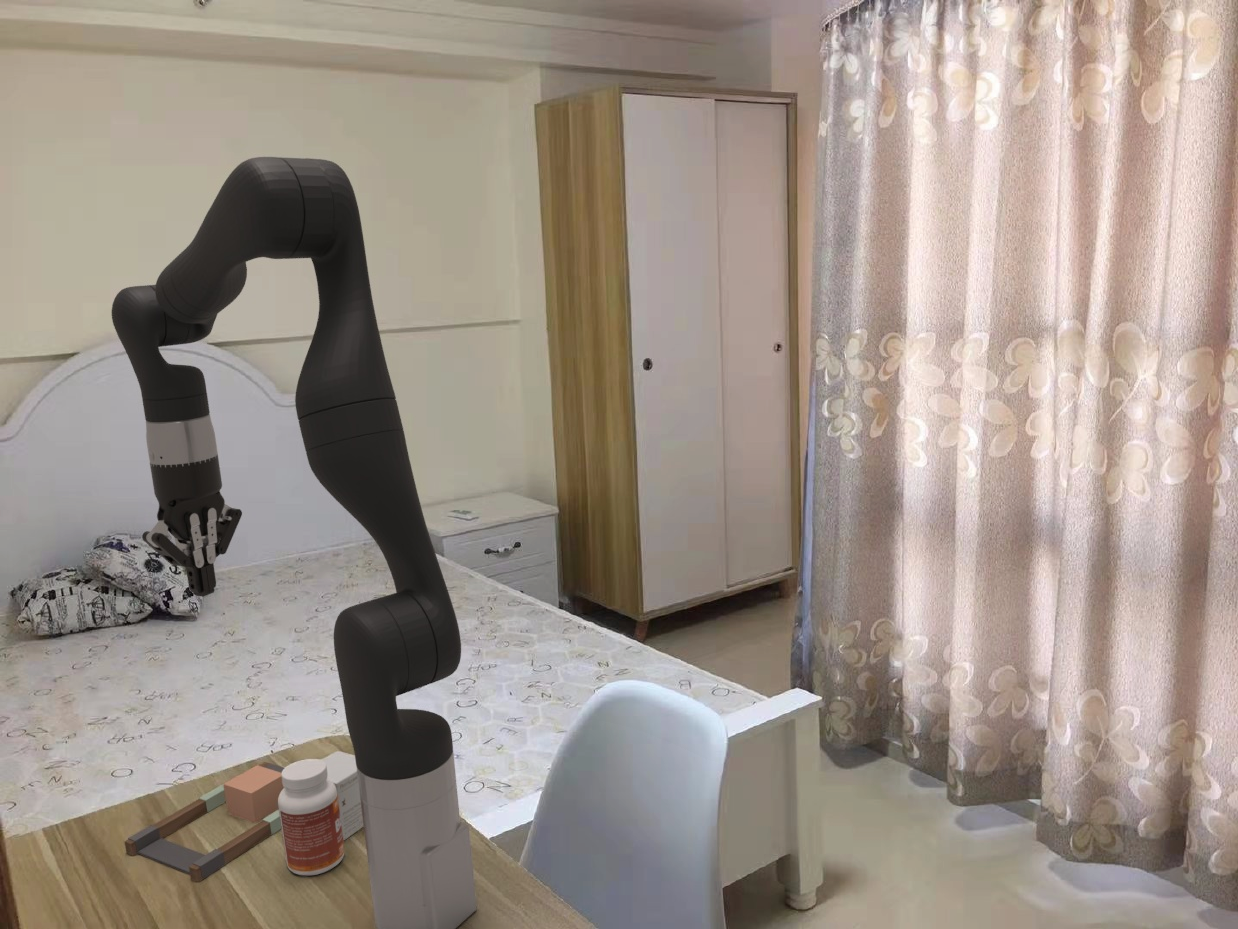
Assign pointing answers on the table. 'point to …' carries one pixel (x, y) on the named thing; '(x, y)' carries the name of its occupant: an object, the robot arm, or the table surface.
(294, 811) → the pill bottle
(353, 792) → the product box
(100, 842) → the table surface
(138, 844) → the frame
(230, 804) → the terracotta block
